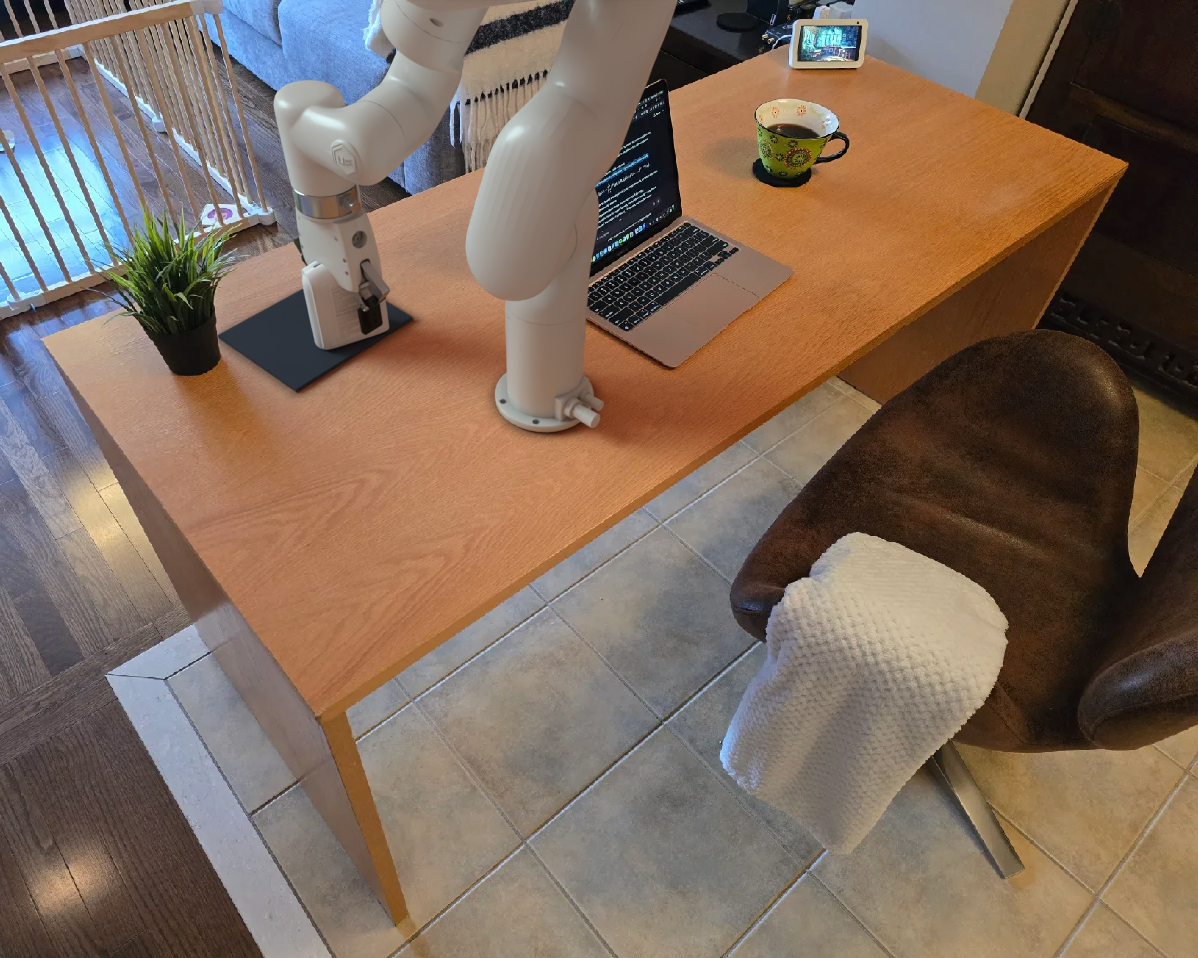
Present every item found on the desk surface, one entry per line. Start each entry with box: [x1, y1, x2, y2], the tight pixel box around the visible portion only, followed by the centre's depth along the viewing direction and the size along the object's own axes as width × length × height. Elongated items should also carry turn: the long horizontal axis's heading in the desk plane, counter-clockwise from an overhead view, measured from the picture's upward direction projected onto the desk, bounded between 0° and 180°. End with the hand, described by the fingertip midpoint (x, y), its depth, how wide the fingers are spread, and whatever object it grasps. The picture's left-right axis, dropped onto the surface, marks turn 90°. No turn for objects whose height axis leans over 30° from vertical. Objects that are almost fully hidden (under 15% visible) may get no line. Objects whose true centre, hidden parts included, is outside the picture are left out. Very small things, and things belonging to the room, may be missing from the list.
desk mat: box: [217, 288, 414, 393], centre depth 119 cm, size 16×20×1 cm
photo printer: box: [300, 261, 389, 350], centre depth 113 cm, size 10×4×12 cm, turn 124°
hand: (350, 315), depth 115 cm, fingers open, 8 cm apart
